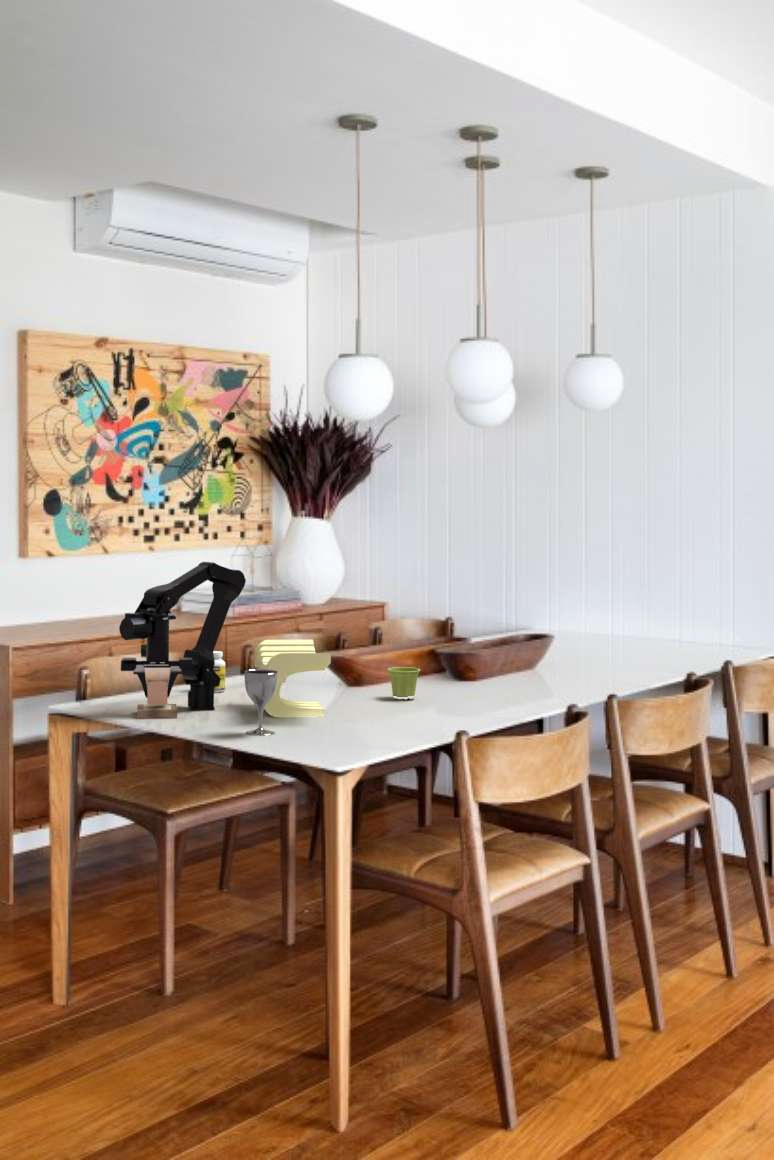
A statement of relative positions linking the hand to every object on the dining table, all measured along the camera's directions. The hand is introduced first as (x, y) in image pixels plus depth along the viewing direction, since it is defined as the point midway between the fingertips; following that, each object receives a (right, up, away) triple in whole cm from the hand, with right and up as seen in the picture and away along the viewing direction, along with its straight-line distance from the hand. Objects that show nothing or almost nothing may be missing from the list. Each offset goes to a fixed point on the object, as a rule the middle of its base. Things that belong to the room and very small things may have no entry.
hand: (157, 697), depth 336 cm
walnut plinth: (0, -5, 0) cm, 5 cm away
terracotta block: (0, -2, 0) cm, 2 cm away
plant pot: (+64, -4, +36) cm, 74 cm away
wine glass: (+29, -7, -22) cm, 37 cm away
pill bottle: (+9, -2, +42) cm, 43 cm away
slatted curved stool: (+34, -5, +8) cm, 35 cm away
